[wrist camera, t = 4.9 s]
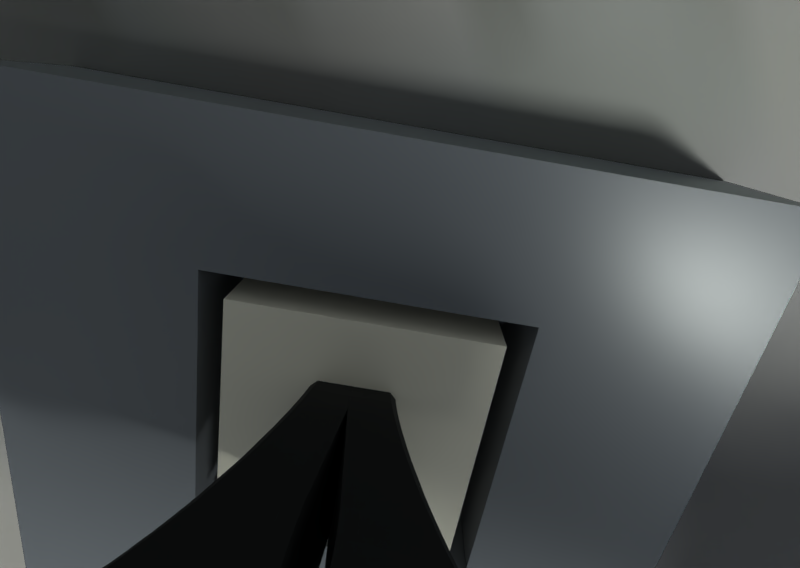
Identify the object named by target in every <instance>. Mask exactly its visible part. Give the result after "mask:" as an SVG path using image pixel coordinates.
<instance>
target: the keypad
mask: <svg viewBox="0 0 800 568" xmlns="http://www.w3.org/2000/svg"><path fill="white" fill-rule="evenodd" d="M244 278H249V279H255V280H261V281H267V282H273V283H279V284H285V285H291V286H296V287H302V288H308V289H314V290H320V291H326V292H332V293H338V294H344V295H350V296H355V297H361V298H367V299H373V300H379V301H385V302H391V303H397V304H403V305H408V306H414V307H420V308H426V309H432V310H438V311H444V312H450V313H456V314H461V315H467V316H473V317H479V318H485V319H491V320H497V321H498V322H499V325H500V328H501V331H502V334H503V337H504V340H505V343H506V346H507V348H506V352H505V355H504V359H503V362H502V366H501V370H500V373H499V377H498V380H497V384H496V388H495V391H494V395H493V398H492V402H491V405H490V409H489V413H488V416H487V420H486V423H485V427H484V431H483V434H482V438H481V441H480V445H479V448H478V452H477V456H476V459H475V463H474V466H473V470H472V474H471V477H470V481H469V484H468V488H467V491H466V495H465V499H464V502H463V506H462V509H461V513H460V517H459V520H458V524H457V527H456V531H455V534H454V538H453V542H452V545H451V549H450V553H451V555H452V557H453V559H454V561H455V563H456V565H457V567H458V568H655V567H656V565H657V563H658V561H659V559H660V557H661V555H662V553H663V551H664V549H665V547H666V545H667V543H668V541H669V539H670V537H671V535H672V533H673V531H674V529H675V527H676V525H677V523H678V521H679V519H680V517H681V515H682V513H683V511H684V510H685V508H686V506H687V504H688V502H689V500H690V498H691V496H692V494H693V492H694V490H695V488H696V486H697V484H698V482H699V480H700V478H701V476H702V474H703V472H704V470H705V468H706V466H707V464H708V462H709V460H710V458H711V456H712V454H713V452H714V450H715V448H716V446H717V444H718V442H719V440H720V438H721V436H722V434H723V432H724V430H725V428H726V426H727V424H728V422H729V420H730V418H731V416H732V414H733V412H734V410H735V408H736V406H737V404H738V402H739V400H740V398H741V396H742V394H743V392H744V390H745V388H746V386H747V384H748V382H749V380H750V378H751V376H752V374H753V372H754V370H755V368H756V366H757V364H758V362H759V360H760V358H761V356H762V354H763V352H764V350H765V348H766V346H767V344H768V342H769V340H770V338H771V336H772V334H773V332H774V330H775V328H776V326H777V324H778V322H779V320H780V318H781V316H782V314H783V312H784V310H785V308H786V306H787V304H788V302H789V300H790V298H791V296H792V294H793V292H794V290H795V288H796V286H797V284H798V282H799V280H800V203H799V202H796V201H792V200H789V199H785V198H782V197H778V196H775V195H771V194H768V193H764V192H761V191H757V190H754V189H750V188H747V187H743V186H740V185H737V184H733V183H730V182H726V181H720V180H715V179H709V178H703V177H698V176H692V175H686V174H681V173H675V172H669V171H664V170H658V169H652V168H647V167H641V166H635V165H630V164H624V163H618V162H613V161H607V160H601V159H596V158H590V157H584V156H579V155H573V154H567V153H562V152H556V151H550V150H545V149H539V148H533V147H528V146H522V145H516V144H511V143H505V142H499V141H494V140H488V139H482V138H477V137H471V136H465V135H460V134H454V133H449V132H443V131H437V130H432V129H426V128H420V127H415V126H409V125H403V124H398V123H392V122H386V121H381V120H375V119H369V118H364V117H358V116H352V115H347V114H341V113H335V112H330V111H324V110H318V109H313V108H307V107H301V106H296V105H290V104H284V103H279V102H273V101H267V100H262V99H256V98H250V97H245V96H239V95H233V94H228V93H222V92H216V91H211V90H205V89H199V88H194V87H188V86H182V85H177V84H171V83H165V82H160V81H154V80H148V79H143V78H137V77H131V76H126V75H120V74H115V73H109V72H103V71H98V70H92V69H86V68H81V67H75V66H67V65H55V64H43V63H31V62H19V61H7V60H0V413H1V419H2V425H3V431H4V438H5V444H6V450H7V456H8V462H9V468H10V474H11V480H12V486H13V492H14V498H15V504H16V511H17V517H18V523H19V529H20V535H21V541H22V547H23V553H24V559H25V565H26V568H103V567H104V566H106V565H107V564H109V563H110V562H112V561H113V560H114V559H116V558H117V557H119V556H120V555H121V554H123V553H124V552H126V551H127V550H128V549H130V548H131V547H132V546H134V545H135V544H136V543H138V542H139V541H140V540H142V539H143V538H144V537H146V536H147V535H149V534H150V533H151V532H153V531H154V530H155V529H157V528H158V527H159V526H160V525H162V524H163V523H164V522H166V521H167V520H168V519H170V518H171V517H172V516H173V515H175V514H176V513H177V512H178V511H180V510H181V509H182V508H183V507H185V506H186V505H187V504H188V503H190V502H191V501H192V500H193V499H194V498H196V497H197V496H198V495H199V494H200V493H201V492H203V491H204V490H205V489H206V488H207V487H208V486H210V485H211V484H212V483H213V482H214V481H215V480H216V479H217V473H218V444H219V415H220V386H221V358H222V329H223V300H224V298H225V297H226V296H227V295H228V294H229V293H230V292H231V291H232V290H233V289H234V288H235V287H236V286H237V285H238V284H239V283H240V282H241V281H242V280H243V279H244ZM327 544H328V540H327ZM327 544H326V547H325V550H324V554H323V557H322V561H321V564H320V567H319V568H325V562H326V553H327Z"/></svg>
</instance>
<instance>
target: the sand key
mask: <svg viewBox="0 0 800 568" xmlns="http://www.w3.org/2000/svg"><path fill="white" fill-rule="evenodd" d="M506 348H507V346H506V343H505V340H504V337H503V334H502V331H501V328H500V325H499V322H498V321H497V320H491V319H485V318H479V317H473V316H467V315H461V314H456V313H450V312H444V311H438V310H432V309H426V308H420V307H414V306H408V305H403V304H397V303H391V302H385V301H379V300H373V299H367V298H361V297H355V296H350V295H344V294H338V293H332V292H326V291H320V290H314V289H308V288H302V287H296V286H291V285H285V284H279V283H273V282H267V281H261V280H255V279H249V278H244V279H243V280H242V281H241V282H240V283H239V284H238V285H237V286H236V287H235V288H234V289H233V290H232V291H231V292H230V293H229V294H228V295H227V296H226V297H225V298H224V300H223V329H222V358H221V386H220V415H219V444H218V473H217V479H218V478H219V477H220V476H221V475H222V474H223V473H225V472H226V471H227V470H228V469H229V468H230V467H231V466H233V465H234V464H235V463H236V462H237V461H238V460H239V459H240V458H242V457H243V456H244V455H245V454H246V453H247V452H248V451H249V450H250V449H251V448H252V447H253V446H254V445H255V444H256V443H257V442H258V441H259V440H260V439H261V438H262V437H263V436H264V435H265V434H266V433H267V432H268V431H269V430H271V429H272V428H273V427H274V426H275V425H276V423H277V422H278V421H279V420H280V419H281V418H282V417H283V416H284V415H285V414H286V413H287V412H288V411H289V410H290V409H291V408H292V406H293V405H294V404H295V403H296V402H297V401H298V400H299V399H300V397H301V396H302V395H303V394H304V393H305V391H306V390H307V389H308V388H309V386H310V385H312V384H313V383H315V382H316V381H323V382H329V383H335V384H341V385H347V386H353V387H360V388H366V389H372V390H378V391H384V392H390V393H391V394H392V395H393V397H394V398H395V399H396V407H397V412H398V417H399V421H400V425H401V429H402V432H403V436H404V439H405V442H406V446H407V449H408V452H409V455H410V458H411V461H412V463H413V466H414V469H415V471H416V474H417V476H418V479H419V482H420V484H421V487H422V490H423V492H424V495H425V497H426V500H427V502H428V504H429V507H430V509H431V511H432V514H433V516H434V518H435V520H436V523H437V525H438V527H439V529H440V531H441V533H442V536H443V538H444V540H445V542H446V544H447V546H448V548H449V551H450V549H451V545H452V542H453V538H454V534H455V531H456V527H457V524H458V520H459V517H460V513H461V509H462V506H463V502H464V499H465V495H466V491H467V488H468V484H469V481H470V477H471V474H472V470H473V466H474V463H475V459H476V456H477V452H478V448H479V445H480V441H481V438H482V434H483V431H484V427H485V423H486V420H487V416H488V413H489V409H490V405H491V402H492V398H493V395H494V391H495V388H496V384H497V380H498V377H499V373H500V370H501V366H502V362H503V359H504V355H505V352H506Z"/></svg>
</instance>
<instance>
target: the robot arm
mask: <svg viewBox="0 0 800 568" xmlns="http://www.w3.org/2000/svg"><path fill="white" fill-rule="evenodd" d="M327 540H328V544H327ZM326 544H327V553H326V562H325V568H458V567H457V565H456V563H455V561H454V559H453V557H452V555H451V553H450V551H449V548H448V546H447V544H446V542H445V540H444V538H443V536H442V533H441V531H440V529H439V527H438V525H437V523H436V520H435V518H434V516H433V514H432V511H431V509H430V507H429V504H428V502H427V500H426V497H425V495H424V492H423V490H422V487H421V484H420V482H419V479H418V476H417V474H416V471H415V469H414V466H413V463H412V461H411V458H410V455H409V452H408V449H407V446H406V442H405V439H404V436H403V432H402V429H401V425H400V421H399V417H398V412H397V407H396V399H395V398H394V397H393V395H392V394H391V393H390V392H384V391H378V390H372V389H366V388H360V387H353V386H347V385H341V384H335V383H329V382H323V381H316V382H315V383H313V384H312V385H310V386H309V388H308V389H307V390H306V391H305V393H304V394H303V395H302V396H301V397H300V399H299V400H298V401H297V402H296V403H295V404H294V405H293V406H292V408H291V409H290V410H289V411H288V412H287V413H286V414H285V415H284V416H283V417H282V418H281V419H280V420H279V421H278V422H277V423H276V425H275V426H274V427H273V428H272V429H271V430H269V431H268V432H267V433H266V434H265V435H264V436H263V437H262V438H261V439H260V440H259V441H258V442H257V443H256V444H255V445H254V446H253V447H252V448H251V449H250V450H249V451H248V452H247V453H246V454H245V455H244V456H243V457H242V458H240V459H239V460H238V461H237V462H236V463H235V464H234V465H233V466H231V467H230V468H229V469H228V470H227V471H226V472H225V473H223V474H222V475H221V476H220V477H219V478H218V479H216V480H215V481H214V482H213V483H212V484H211V485H210V486H208V487H207V488H206V489H205V490H204V491H203V492H201V493H200V494H199V495H198V496H197V497H196V498H194V499H193V500H192V501H191V502H190V503H188V504H187V505H186V506H185V507H183V508H182V509H181V510H180V511H178V512H177V513H176V514H175V515H173V516H172V517H171V518H170V519H168V520H167V521H166V522H164V523H163V524H162V525H160V526H159V527H158V528H157V529H155V530H154V531H153V532H151V533H150V534H149V535H147V536H146V537H144V538H143V539H142V540H140V541H139V542H138V543H136V544H135V545H134V546H132V547H131V548H130V549H128V550H127V551H126V552H124V553H123V554H121V555H120V556H119V557H117V558H116V559H114V560H113V561H112V562H110V563H109V564H107V565H106V566H104V567H103V568H319V567H320V564H321V561H322V557H323V554H324V550H325V547H326Z"/></svg>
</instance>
